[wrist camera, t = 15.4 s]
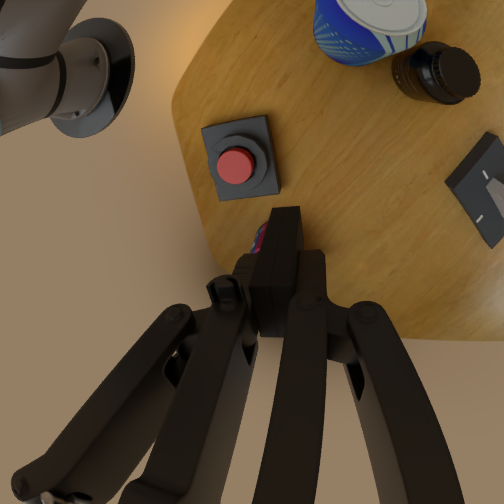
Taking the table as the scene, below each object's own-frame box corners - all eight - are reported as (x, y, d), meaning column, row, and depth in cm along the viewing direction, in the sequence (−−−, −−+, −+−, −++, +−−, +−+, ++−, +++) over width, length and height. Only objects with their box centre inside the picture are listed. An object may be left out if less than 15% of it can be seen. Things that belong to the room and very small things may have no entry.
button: (217, 150, 30) (213, 154, 29) (250, 144, 29) (247, 147, 28) (225, 181, 32) (221, 186, 31) (257, 177, 31) (254, 182, 30)
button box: (206, 126, 32) (195, 131, 29) (267, 114, 30) (262, 116, 27) (224, 195, 37) (215, 207, 34) (281, 188, 35) (278, 199, 32)
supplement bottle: (428, 48, 20) (477, 37, 10) (443, 97, 23) (496, 108, 13) (381, 52, 22) (418, 36, 13) (398, 103, 25) (442, 113, 16)
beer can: (394, 53, 22) (458, 33, 9) (338, 77, 26) (367, 64, 13) (356, -1, 19) (389, -57, 6) (298, 23, 22) (291, -30, 9)
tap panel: (444, 181, 29) (453, 190, 27) (486, 131, 23) (498, 136, 21) (483, 239, 32) (492, 250, 29) (521, 196, 26) (531, 204, 23)
